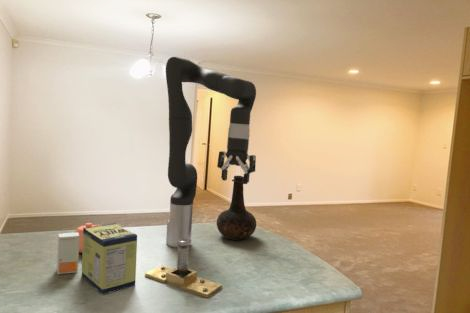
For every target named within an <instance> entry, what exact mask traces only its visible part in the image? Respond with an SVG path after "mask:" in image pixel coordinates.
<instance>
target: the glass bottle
mask: <svg viewBox="0 0 470 313" xmlns="http://www.w3.org/2000/svg"><path fill="white" fill-rule="evenodd" d="M243 177H244V175H243V176H242V175H234V176H233V179H232V180H231V181H232V182H233V186H232V194H231V201H230V206H229V208H228V209H226V210H224V211H222V212H221V213H220V214H219V215H218V216H217V219H216V228H217V230H218V231H219V234H221V236H223V237H224V238H226V239H228V240H231V241H232V240H234V241H241V240H247V239H249V238H250V237H252V235H253V234H254V233H255V231H256V229H257V220H256V217H255V216H254V214H253V213H251V212H249V211H248V210H247V208H246V205H245V198H244V184H243Z"/></svg>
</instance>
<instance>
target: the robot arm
mask: <svg viewBox="0 0 470 313" xmlns="http://www.w3.org/2000/svg"><path fill="white" fill-rule="evenodd" d="M165 78H166V79H165V80H166V87H167V98H168V131H169V132H168V135H169V138H168V139H169V140H168V141H169V143H168V144H169V146H168V148H169V153H168V165H167V167H168V168H167V178H168V182H169V184H170V186H172V187H173V188H175V190H174V192H173V194H172V195H171V196H170V202H169V203H170V204H169V205H170V206H169V218H168V220H167V221H166V222H167V223H166V238H165V240H166V241H165V242H166V243H165V244H167V245H168V246H170V247H171V248H176V249H178V245H177V240H178V239H189V240H191V241H192V232H193V231H192V227H193V213H194V212H193V211H194V210H193V209H194V200H195V197H196V194H197V186H198V171H197V169H196V167H195V166H194V165H193V164H192V163H186V161H187V160H186V155H187V154H186V152H187V147H188V144H189V142H190V140H191V136H192V133H193V114H192V110H191V108H190V106H189V104H188V101H187V100H186V97H185V95H184V90H183V83H191V84H199V85H202V86H203V87H205V88H207V89H209V90H211V91H213V92H216V93H219V94H223V95H224V96H227V97H228V98H231V99H234V100H238V102H237V105H236V106H234V107H232V108H231V110H230V115H229V117H230V118H229V125H228V130H227V131H228V133H227V143H226V144H227V145H226V150H227V151H222V150H221V151H219V153H218V157H217V166H216V168H219V169H220V170H221V177H220V178H221V180H222V181H227V180H228V173H229V172H228V171H229V170H228V169H229V168H230V166H237V167H240V168H241V169H242V170H243V172H244V173H243V185H247V184H248V183H249V182H250V176H251V174H252V173H255V172H256V162H257V161H256V155H255V154H251V155H249V153H248V151H249V144H250V142H249V141H250V124H251V123H250V122H251V114H252V113H251V112H252V110H253V106H254V105H255V101H256V96H257V89H256V88H257V87H256V85H255V84H254V82H252V81H249V80H246V79H241V78H237V77H233V76H231V75H228V74H226V73H222V72H219V71H215V70H213V69H212V70H211V69H207V68H205V67H202V66H200V65H198V64H196V63H195V62H193V61H191V60H190V59H187V58H183V57H179V56H175V55H174V56H171V57H169V58H168V60H167V61H166V64H165ZM225 158H226V160H225ZM247 160H248V162H249V163H248V162H247Z"/></svg>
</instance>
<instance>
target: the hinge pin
mask: <svg viewBox="0 0 470 313" xmlns="http://www.w3.org/2000/svg"><path fill="white" fill-rule="evenodd" d="M177 245H178V248H177V256H176V258H177V260H176V268H177V273H176V275H178V276H181V277H184V276H186V275H187V273H188V269H189V256H190V255H189V253H190V252H189V251H190V246H191V245H192V239H191V240H189V239H178V240H177Z"/></svg>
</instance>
